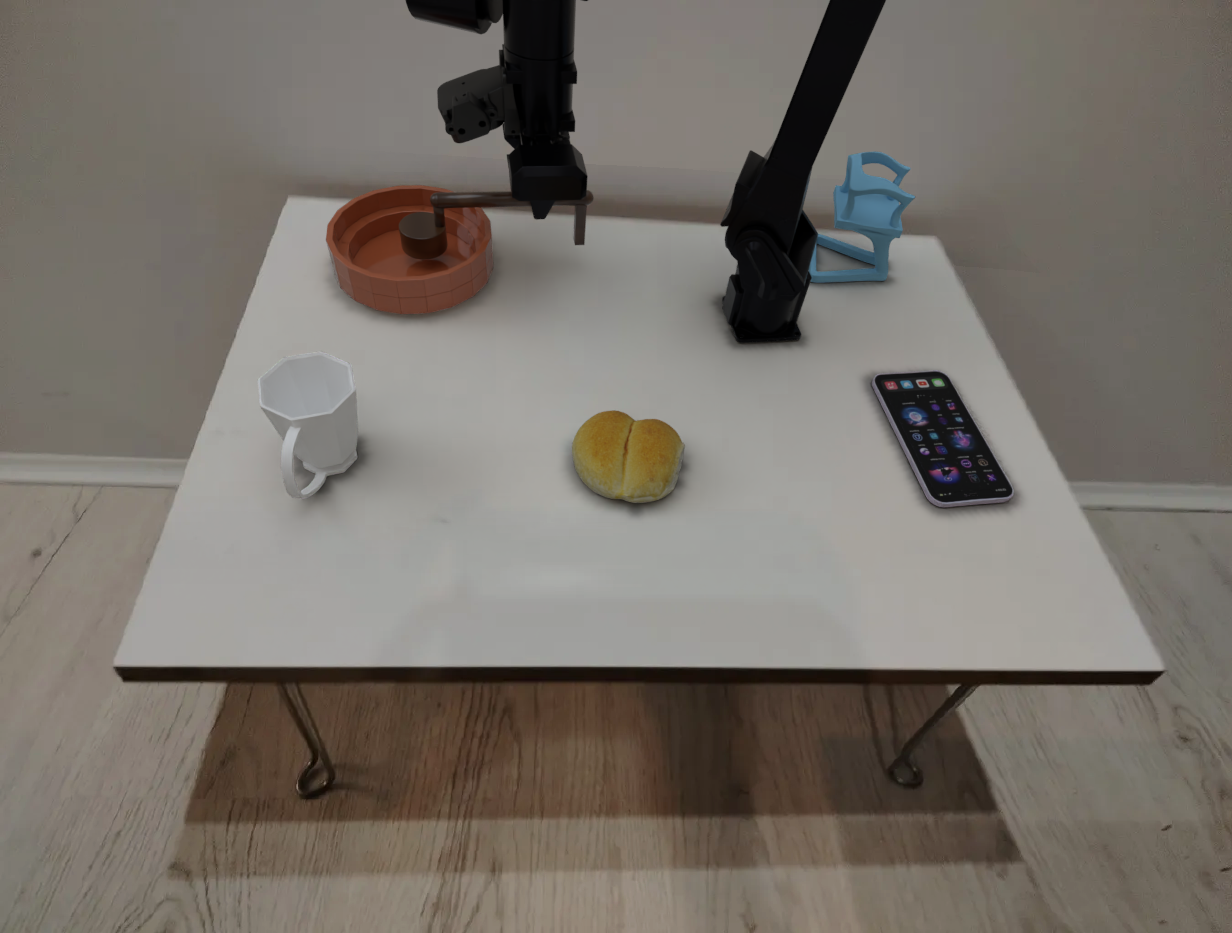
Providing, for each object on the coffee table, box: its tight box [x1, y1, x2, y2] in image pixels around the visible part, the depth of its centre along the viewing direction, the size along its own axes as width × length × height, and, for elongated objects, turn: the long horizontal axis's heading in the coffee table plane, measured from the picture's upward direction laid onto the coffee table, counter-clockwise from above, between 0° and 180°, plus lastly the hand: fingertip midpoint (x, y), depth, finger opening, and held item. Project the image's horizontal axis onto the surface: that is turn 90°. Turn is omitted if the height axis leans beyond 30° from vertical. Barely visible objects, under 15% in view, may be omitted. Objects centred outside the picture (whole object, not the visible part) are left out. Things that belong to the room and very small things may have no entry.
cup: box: [257, 350, 359, 499], centre depth 58 cm, size 7×10×8 cm
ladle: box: [399, 189, 595, 260], centre depth 75 cm, size 19×4×6 cm, turn 99°
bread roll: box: [571, 409, 686, 504], centre depth 62 cm, size 8×9×4 cm
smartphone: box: [871, 369, 1015, 508], centre depth 68 cm, size 8×1×15 cm
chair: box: [809, 150, 916, 284], centre depth 79 cm, size 8×8×12 cm
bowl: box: [325, 184, 494, 315], centre depth 76 cm, size 15×15×4 cm
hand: (538, 213), depth 75 cm, fingers closed on ladle
